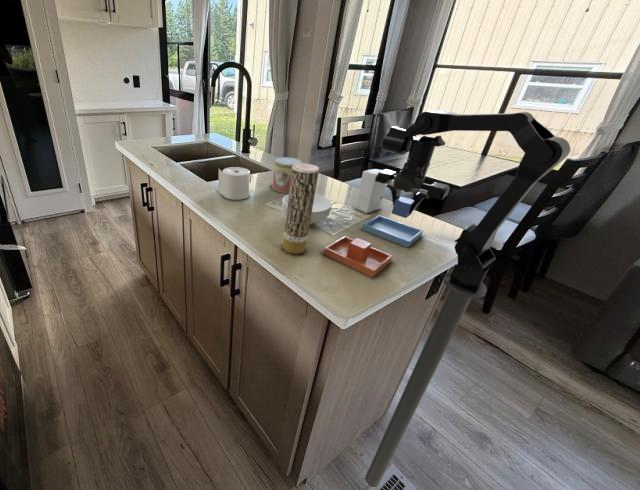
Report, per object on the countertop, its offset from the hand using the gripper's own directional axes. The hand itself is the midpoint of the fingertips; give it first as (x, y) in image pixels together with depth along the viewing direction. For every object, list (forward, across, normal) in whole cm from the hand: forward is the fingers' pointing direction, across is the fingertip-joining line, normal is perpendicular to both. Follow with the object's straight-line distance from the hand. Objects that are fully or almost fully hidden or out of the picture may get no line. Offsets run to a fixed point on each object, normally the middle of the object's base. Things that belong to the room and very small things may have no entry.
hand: (402, 210), depth 97 cm
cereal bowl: (+12, -28, -7) cm, 31 cm away
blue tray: (+11, -3, +7) cm, 13 cm away
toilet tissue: (+12, -60, -11) cm, 62 cm away
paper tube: (+12, -18, -27) cm, 34 cm away
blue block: (+1, 0, 0) cm, 1 cm away
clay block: (+11, -3, -17) cm, 20 cm away
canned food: (+12, -52, +12) cm, 54 cm away
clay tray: (+11, -3, -17) cm, 21 cm away
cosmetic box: (+12, -18, +19) cm, 29 cm away
